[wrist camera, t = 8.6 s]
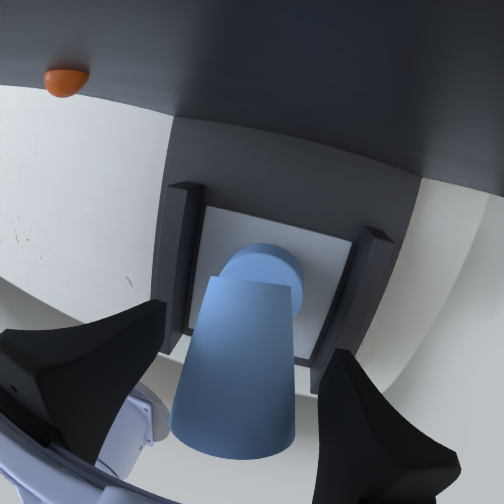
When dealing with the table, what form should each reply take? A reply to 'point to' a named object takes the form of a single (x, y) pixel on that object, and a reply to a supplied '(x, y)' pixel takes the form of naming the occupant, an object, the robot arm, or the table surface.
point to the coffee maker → (284, 130)
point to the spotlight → (242, 359)
